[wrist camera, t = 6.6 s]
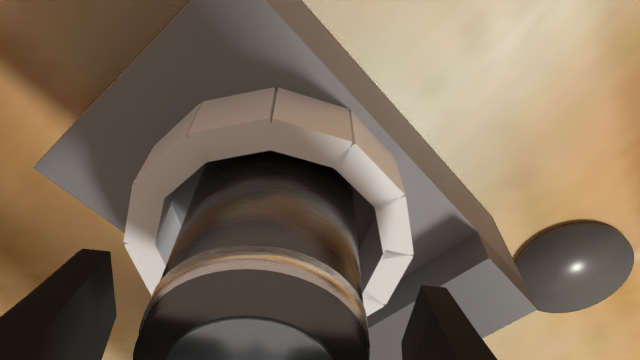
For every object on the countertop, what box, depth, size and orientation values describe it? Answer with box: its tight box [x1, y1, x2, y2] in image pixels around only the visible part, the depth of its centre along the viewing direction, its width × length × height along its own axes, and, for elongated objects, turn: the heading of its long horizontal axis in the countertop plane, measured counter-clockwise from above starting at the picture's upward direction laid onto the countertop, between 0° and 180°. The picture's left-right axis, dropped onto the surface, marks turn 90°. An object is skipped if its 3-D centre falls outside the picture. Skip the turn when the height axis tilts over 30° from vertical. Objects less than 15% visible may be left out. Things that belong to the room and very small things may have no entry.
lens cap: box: [515, 222, 634, 313], centre depth 21 cm, size 5×5×1 cm
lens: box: [133, 150, 370, 360], centre depth 12 cm, size 4×4×6 cm
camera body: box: [33, 0, 537, 360], centre depth 16 cm, size 13×8×5 cm, turn 42°
